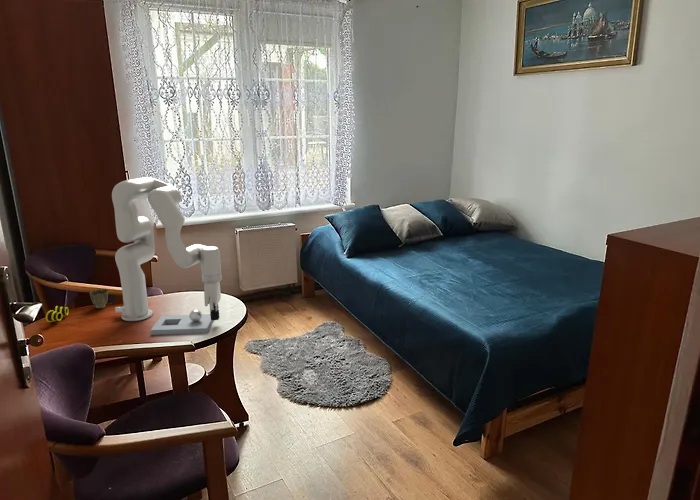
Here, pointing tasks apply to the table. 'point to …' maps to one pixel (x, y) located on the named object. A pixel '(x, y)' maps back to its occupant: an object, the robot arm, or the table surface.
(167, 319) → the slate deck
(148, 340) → the table surface
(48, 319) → the yellow looped piece
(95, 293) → the cup
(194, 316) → the steel ball
